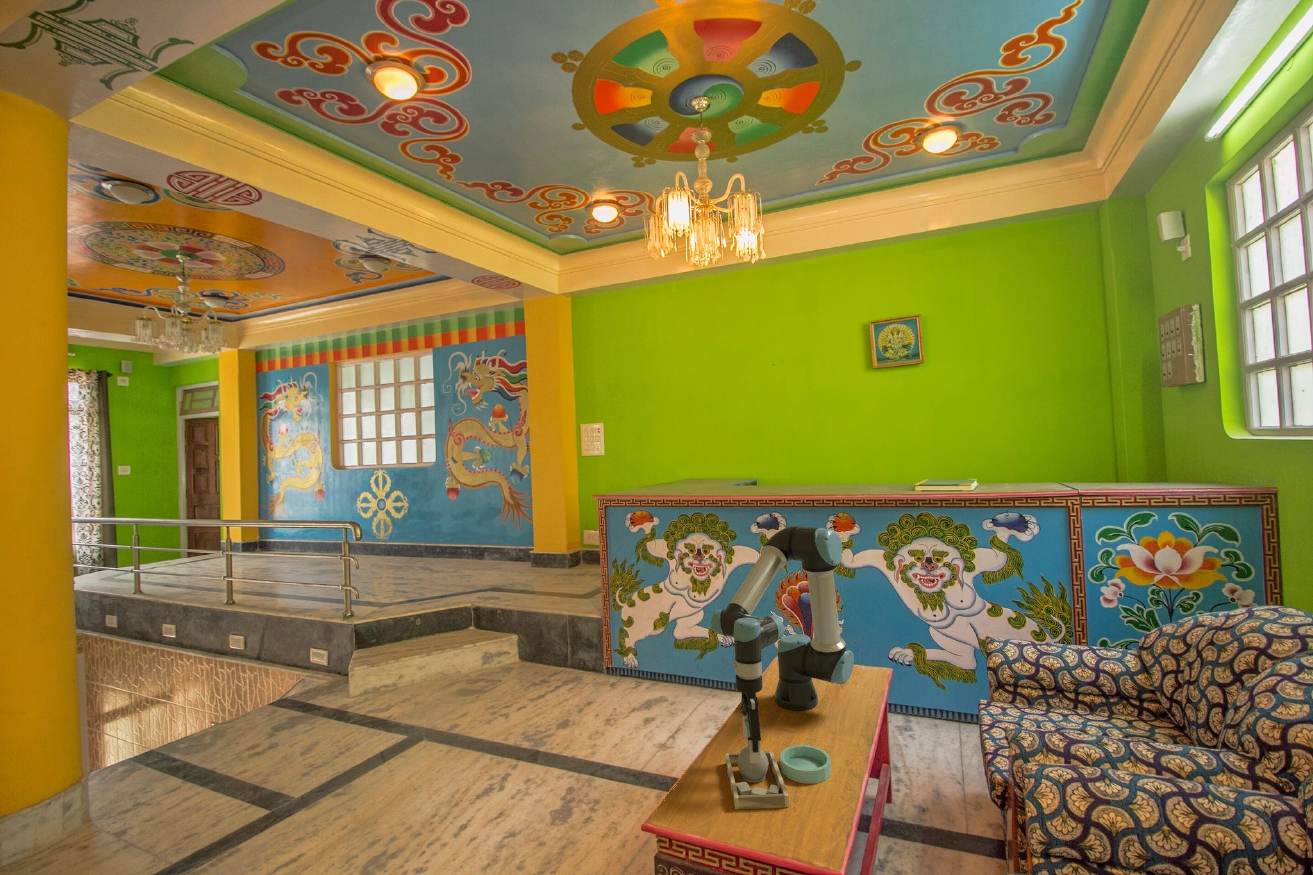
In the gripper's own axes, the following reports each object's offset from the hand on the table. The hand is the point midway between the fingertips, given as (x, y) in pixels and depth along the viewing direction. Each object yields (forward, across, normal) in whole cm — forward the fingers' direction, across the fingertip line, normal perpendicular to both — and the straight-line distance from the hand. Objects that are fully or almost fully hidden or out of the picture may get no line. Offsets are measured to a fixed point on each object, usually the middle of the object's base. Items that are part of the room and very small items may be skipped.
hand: (751, 749), depth 171 cm
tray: (+8, +4, 0) cm, 8 cm away
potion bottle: (+8, 0, 0) cm, 8 cm away
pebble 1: (+8, +11, 0) cm, 13 cm away
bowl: (+7, -2, +16) cm, 17 cm away
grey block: (+8, +9, -4) cm, 12 cm away
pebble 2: (+8, +10, +4) cm, 13 cm away
